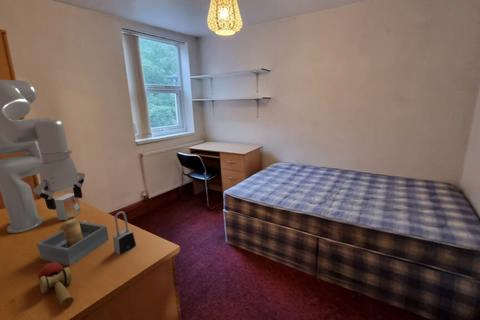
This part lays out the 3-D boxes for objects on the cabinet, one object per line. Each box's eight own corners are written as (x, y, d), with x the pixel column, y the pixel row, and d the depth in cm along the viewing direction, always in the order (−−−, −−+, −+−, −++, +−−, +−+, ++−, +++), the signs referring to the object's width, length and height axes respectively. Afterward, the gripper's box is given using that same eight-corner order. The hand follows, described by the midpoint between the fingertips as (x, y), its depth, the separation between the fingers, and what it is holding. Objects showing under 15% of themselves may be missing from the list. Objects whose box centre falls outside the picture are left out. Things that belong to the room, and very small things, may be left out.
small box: (67, 221, 111) (62, 200, 108) (57, 220, 112) (52, 199, 109) (81, 213, 118) (77, 193, 115) (72, 212, 119) (68, 192, 117)
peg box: (41, 258, 84) (37, 244, 82) (82, 234, 99) (79, 221, 97) (70, 266, 80) (66, 250, 78) (108, 239, 94) (106, 226, 93)
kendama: (88, 298, 68) (66, 265, 78) (80, 284, 65) (58, 252, 75) (56, 321, 63) (38, 282, 73) (46, 307, 60) (28, 268, 70)
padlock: (119, 255, 85) (113, 217, 81) (113, 251, 87) (107, 214, 83) (137, 245, 90) (131, 209, 86) (130, 242, 92) (125, 207, 89)
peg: (65, 251, 88) (58, 224, 85) (78, 243, 92) (71, 218, 90) (75, 253, 86) (69, 226, 83) (87, 245, 91) (82, 219, 88)
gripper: (71, 150, 89) (80, 192, 94) (18, 162, 73) (32, 212, 78) (87, 151, 87) (95, 194, 92) (35, 164, 71) (48, 215, 76)
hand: (66, 203), depth 85 cm, fingers open, 9 cm apart
